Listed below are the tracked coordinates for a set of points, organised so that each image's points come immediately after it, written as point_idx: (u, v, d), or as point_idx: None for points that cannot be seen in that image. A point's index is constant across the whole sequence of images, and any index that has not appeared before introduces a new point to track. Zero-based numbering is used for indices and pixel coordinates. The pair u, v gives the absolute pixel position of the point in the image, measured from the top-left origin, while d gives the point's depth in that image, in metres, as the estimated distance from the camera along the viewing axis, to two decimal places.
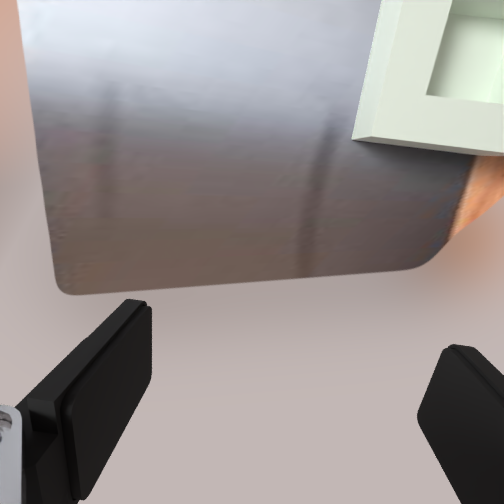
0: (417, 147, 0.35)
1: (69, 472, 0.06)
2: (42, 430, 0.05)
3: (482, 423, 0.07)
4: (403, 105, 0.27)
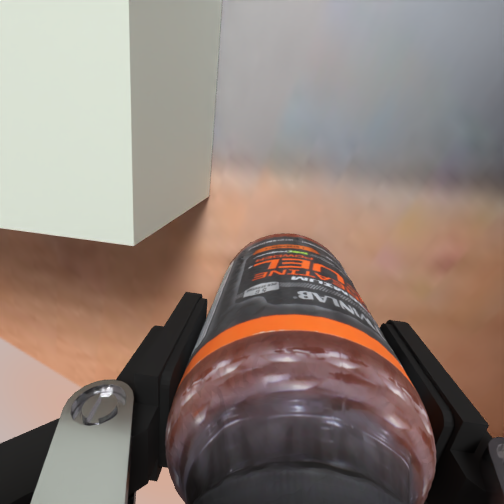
0: None
1: (159, 441, 0.07)
2: (144, 402, 0.06)
3: None
4: None
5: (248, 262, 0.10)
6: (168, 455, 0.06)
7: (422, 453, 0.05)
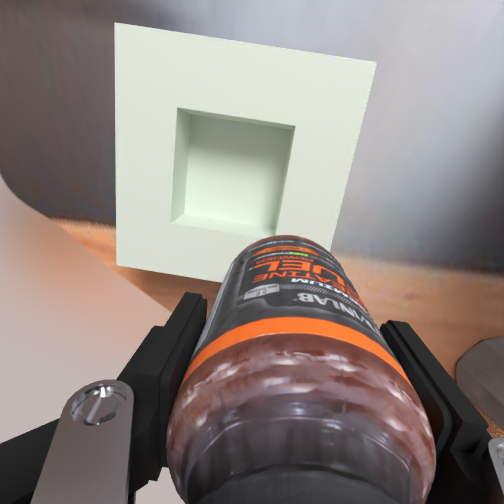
0: None
1: (159, 441, 0.07)
2: (144, 402, 0.06)
3: None
4: (161, 73, 0.18)
5: (248, 263, 0.10)
6: (169, 457, 0.06)
7: (422, 455, 0.05)
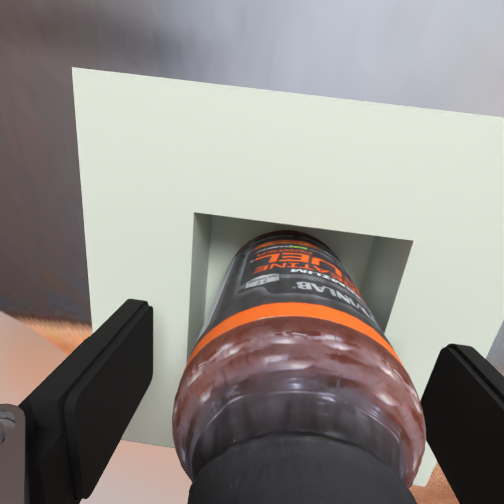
0: None
1: (72, 471, 0.06)
2: (45, 429, 0.05)
3: (480, 422, 0.07)
4: (164, 156, 0.10)
5: (249, 256, 0.11)
6: (175, 433, 0.06)
7: (412, 429, 0.06)
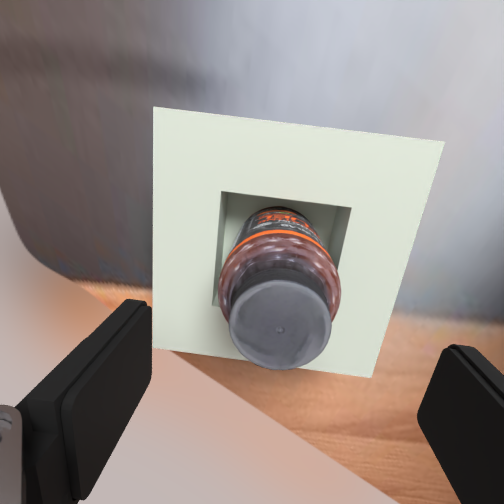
0: None
1: (69, 472, 0.06)
2: (42, 430, 0.05)
3: (482, 423, 0.07)
4: (204, 157, 0.17)
5: (254, 219, 0.18)
6: (220, 292, 0.13)
7: (331, 281, 0.13)
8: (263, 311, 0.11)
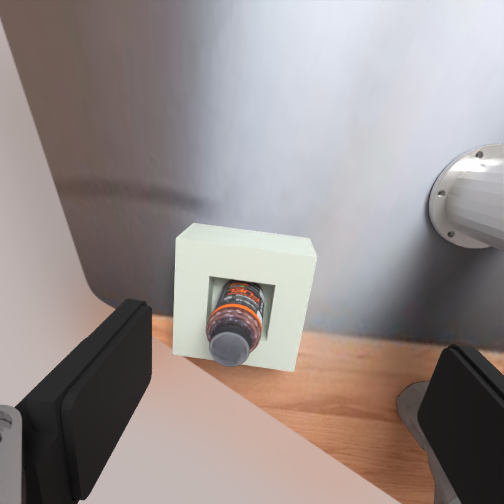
0: None
1: (69, 472, 0.06)
2: (42, 430, 0.05)
3: (482, 423, 0.07)
4: (201, 260, 0.33)
5: (226, 289, 0.34)
6: (207, 332, 0.30)
7: (254, 328, 0.29)
8: (222, 343, 0.27)
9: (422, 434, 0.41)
